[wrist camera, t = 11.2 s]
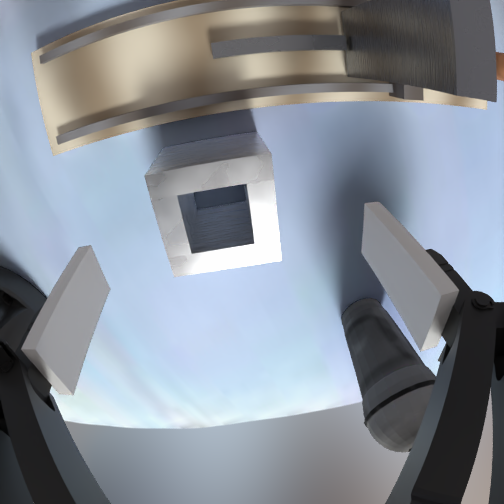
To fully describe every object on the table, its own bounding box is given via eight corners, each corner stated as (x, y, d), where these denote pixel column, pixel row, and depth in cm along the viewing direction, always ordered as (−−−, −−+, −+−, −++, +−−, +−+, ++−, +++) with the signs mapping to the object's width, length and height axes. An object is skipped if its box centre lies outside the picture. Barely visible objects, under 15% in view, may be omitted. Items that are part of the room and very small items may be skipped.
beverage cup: (320, 306, 29) (391, 510, 12) (388, 276, 28) (492, 458, 11) (336, 347, 33) (392, 513, 16) (395, 321, 32) (470, 475, 15)
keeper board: (60, 151, 19) (-13, 203, 11) (39, 52, 14) (-47, 59, 6) (477, 106, 19) (556, 138, 11) (474, 22, 15) (556, 30, 7)
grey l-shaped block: (217, 87, 17) (216, 100, 8) (207, 17, 14) (195, -43, 5) (380, 77, 17) (496, 102, 8) (374, 14, 14) (489, -4, 5)
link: (182, 228, 23) (174, 277, 18) (163, 147, 20) (144, 175, 15) (266, 215, 23) (281, 260, 18) (257, 131, 20) (271, 153, 15)
